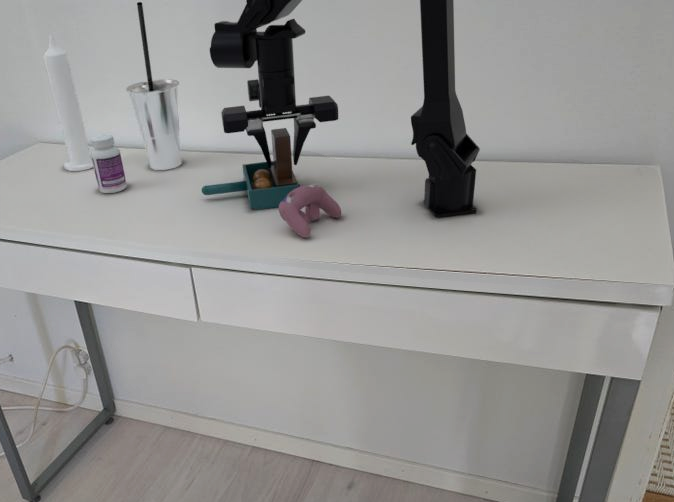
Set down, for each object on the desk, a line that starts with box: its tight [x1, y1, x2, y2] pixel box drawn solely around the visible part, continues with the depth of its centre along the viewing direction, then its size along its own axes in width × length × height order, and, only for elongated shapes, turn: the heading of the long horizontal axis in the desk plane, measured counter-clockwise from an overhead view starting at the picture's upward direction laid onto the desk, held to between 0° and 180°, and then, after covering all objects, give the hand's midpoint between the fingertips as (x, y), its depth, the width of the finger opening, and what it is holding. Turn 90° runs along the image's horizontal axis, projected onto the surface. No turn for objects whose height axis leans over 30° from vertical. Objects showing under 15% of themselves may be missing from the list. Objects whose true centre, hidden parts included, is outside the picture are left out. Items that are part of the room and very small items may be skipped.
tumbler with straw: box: [125, 1, 183, 171], centre depth 126 cm, size 11×11×30 cm
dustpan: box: [201, 160, 301, 211], centre depth 115 cm, size 16×14×3 cm
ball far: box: [253, 169, 271, 183], centre depth 117 cm, size 3×3×3 cm
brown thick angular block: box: [270, 127, 299, 187], centre depth 114 cm, size 4×10×10 cm, turn 5°
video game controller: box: [278, 183, 342, 239], centre depth 102 cm, size 10×5×7 cm, turn 141°
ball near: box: [253, 178, 272, 190], centre depth 113 cm, size 3×3×3 cm
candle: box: [42, 34, 94, 172], centre depth 132 cm, size 7×7×25 cm
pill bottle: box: [90, 133, 128, 194], centre depth 123 cm, size 5×5×10 cm
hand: (282, 165), depth 114 cm, fingers open, 4 cm apart
